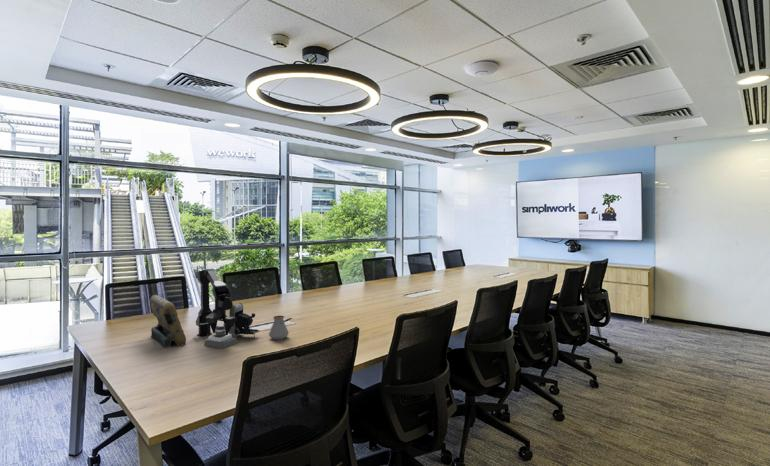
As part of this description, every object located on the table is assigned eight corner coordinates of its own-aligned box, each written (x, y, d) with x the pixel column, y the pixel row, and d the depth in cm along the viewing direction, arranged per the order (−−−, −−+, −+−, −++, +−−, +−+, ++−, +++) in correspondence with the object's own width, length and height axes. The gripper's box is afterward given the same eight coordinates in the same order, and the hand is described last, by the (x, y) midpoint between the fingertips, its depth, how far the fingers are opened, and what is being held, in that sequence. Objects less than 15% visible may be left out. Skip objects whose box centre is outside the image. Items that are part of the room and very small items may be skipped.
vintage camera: (251, 341, 231) (253, 307, 231) (227, 338, 234) (229, 305, 234) (260, 336, 241) (261, 304, 240) (237, 334, 244) (238, 302, 243)
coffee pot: (265, 337, 237) (265, 312, 237) (283, 334, 245) (283, 310, 244) (282, 346, 221) (282, 319, 221) (300, 342, 229) (300, 316, 229)
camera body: (204, 345, 222) (204, 336, 222) (217, 340, 232) (217, 331, 231) (223, 348, 217) (223, 339, 217) (236, 343, 226) (236, 334, 226)
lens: (213, 339, 223) (213, 326, 223) (220, 337, 228) (220, 324, 227) (220, 340, 221) (220, 327, 221) (227, 338, 226) (227, 325, 225)
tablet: (191, 343, 225) (191, 299, 225) (165, 349, 215) (165, 303, 214) (169, 332, 247) (169, 292, 246) (144, 337, 237) (144, 295, 236)
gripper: (196, 308, 220) (196, 336, 220) (222, 311, 213) (222, 340, 213) (212, 304, 230) (212, 330, 231) (237, 307, 223) (237, 334, 223)
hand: (220, 334), depth 224 cm, fingers open, 9 cm apart
